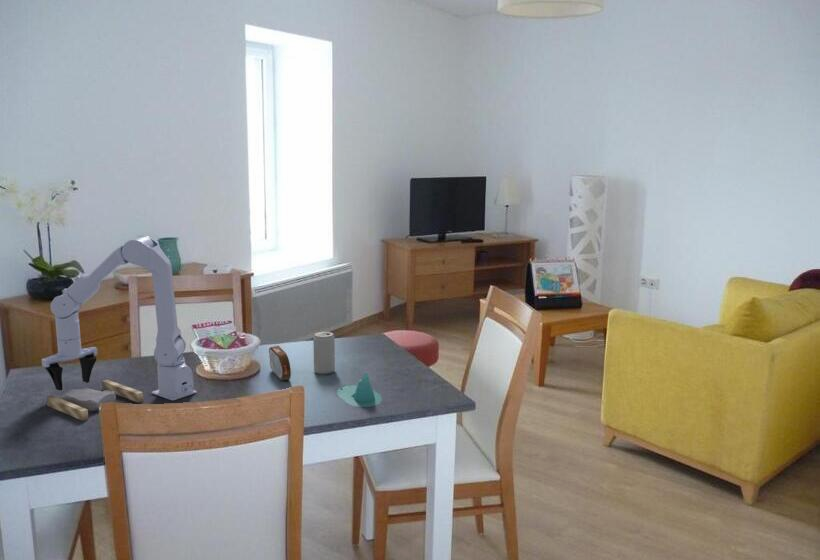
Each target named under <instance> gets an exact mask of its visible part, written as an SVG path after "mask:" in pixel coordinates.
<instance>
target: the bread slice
mask: <svg viewBox="0 0 820 560" xmlns="http://www.w3.org/2000/svg"><path fill="white" fill-rule="evenodd" d="M268 354H269V355H268V357H269V365H270V369H271V372H272V373H273V374H274V375H275V376H276V378H277V379H278V380H279V381H287V380H291V375H292V371H291V364H290V359H289V356H288V354H287V352H286V351H285V350H284V349H283V348H282V347H280V345H274V346H271V347H269V348H268Z"/></svg>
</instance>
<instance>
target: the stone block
mask: <svg viewBox="0 0 820 560" xmlns="http://www.w3.org/2000/svg"><path fill="white" fill-rule="evenodd" d="M60 398H61V399H63V400H66V401H68V402H70V403H73V404H75V405H78V406H80V407H83V408H85V409H87V410H88V412H92V413H93V412H100V411H99V404H100V403H102V402H114V403H115V402H116V398H117V396H116V394H115V392H114V391H108V390H96V389H92V388H88V387H82V386H80V387H77V388H76V387H74V388H72V389H69V390H68V391H65V392H64V393H62V396H61V397H60Z"/></svg>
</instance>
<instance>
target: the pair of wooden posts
mask: <svg viewBox="0 0 820 560" xmlns="http://www.w3.org/2000/svg"><path fill="white" fill-rule="evenodd" d="M101 385H102V387H101V388H102V391H105V390H108V391H114V392H115V396H116V395H117V396H119V397H122V398H125V399H127V400H130V401H133V402H136V403H138V404H139V403H142V402H144V392H143V391H141V390H137V389H135V388H133V387H129V386H126V385H123V384H121V383H118V382H115V381H112V380H109V379H104V380H101ZM46 403H47V404H46V405H47V406H48V407H50V408H52V409H54V410H57V411H59V412H61V413H64V414H66V415H68V416H71V417H73V418H75V419H77V420H80V421H82V422H84V421H88V420H89V411H88V410H87V409H85V408H83V407H80V406H78V405H75V404H73V403H70V402H68V401H66V400H63V399H61V397H59V396H56V395H54V394H50V395H48V396H46Z"/></svg>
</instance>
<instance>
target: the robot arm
mask: <svg viewBox="0 0 820 560" xmlns="http://www.w3.org/2000/svg"><path fill="white" fill-rule="evenodd" d="M128 263H130V264H132V265H136V266H139V267H142V268H143V269H145V270H146V271H148V272H149V273H151V275H152V276H151V278H152V286H153V294H154V295H153V296H154V304H155V305H154V308H155V315H156V324H157V325H156V326H157V333H156V337H155V338H156V339H155V341H156V343H155V344H156V345H155V348H154V351H153V357H154V360H155V361H156V366H157V370H156V371H157V381H158V383H157V384H158V386H157V387H158V389H156V390H153V391H151V394H152V395H155V396H159V397H161V398H164V399H166V400H169V401H176V400H179V399H181V398H186V397H188V396H191V395H194V394H196V393H197V390H195V388H194V385H195V384H194V374H193V373H194V372H193V370H192V369H191V367H189V366H188V365H187V363H186V361H185V356H184V354H183V353H184V352H185V350H186V348H187V347H186V341H185V339H184V337H183V335H182V331H181V329H180V328H179V327H178V319H177V318H178V317H177V308H176V297H175V289H174V279H173V278H174V276H173V267H172V262H171V261H170V259H169V258H168V256H167V255H166V254H165V252H164V251H163V250H162V248H161V246H160V243H159V242H158V241H156V239H153V238H152V237H151V236H148V235H139V236H137V237H136V238H134V239H130V240H128V241H126V242H125V243H124V244H123V245H121V246H120V247H118V248H116V249H115V250H114V251H113V252H111V254H109V255H108V256H107V257H106V259H104V260H103V261H102V262H101V263H100V264H99V265H98V266H97V267H96V268H95V269H94V270H93V271H92V272H91V273H89V274H87V273H83V274H82V275H79V274H78V275H77V276H76V277H75V278H74V282H73V283H72V284H70V286H69V287H68V288H64V289H62V290H61V293H62V294H61V295H57V296H55V297H54V298H53V300H52V301H51V302H50V308H49V309H50V311H51V313H52V314H53V315H54V320H55V322H54V323H55V331H56V341H57V343H56V344H57V353H56V354H53V355H50V356H48V357H45V358H41V367H43V368H44V369H45V370H46V371H47V373H48V374H49V376H50V377H51V379H52V382H53V384H54V388H55V390H58V391H62V390H63V380H62V379H63V378H62V377H63V369H64V367H62V366H60V364H62V363H65V362H69V361H70V362H71V361H74V360H78V361H79V364H80V368H81V369H80V370H81V378H82V381H83V383H86V384H88V383H90V379H91V374H92V372H93V371H92V370H93V368H94V366H95V364H96V362H97V355H98V348H97V347H95V346H90V347H86V348H85V347H84V348H82V340H81V329H80V328H81V327H80V317H79V311H80V309H81V308H82V306H83V305H84V304H85V303H87V301H89V300H90V299H91V298H92V297H93V296H94V295H95V294H96V293H97V292H98V291H99V290H100V287H101V282H102V281H103V280H104V279H106V278H107V277H108V276H109V275H110V274H112V272H114V271H115V270H116V269H117V268H119V267H120V266H122V265H126V264H128Z"/></svg>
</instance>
